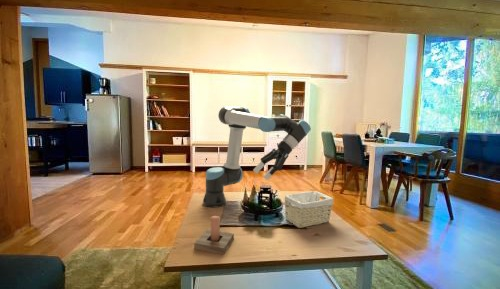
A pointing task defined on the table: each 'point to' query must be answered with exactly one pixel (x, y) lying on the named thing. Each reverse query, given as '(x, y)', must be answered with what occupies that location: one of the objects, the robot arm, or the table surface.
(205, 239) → the socket block
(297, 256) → the table surface
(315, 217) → the storage basket
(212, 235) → the pin
